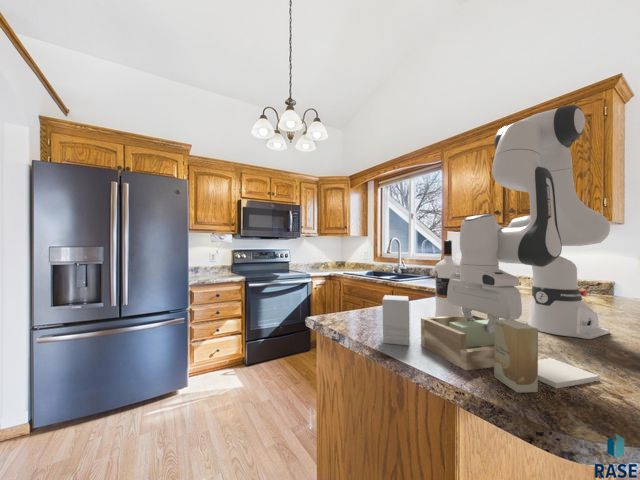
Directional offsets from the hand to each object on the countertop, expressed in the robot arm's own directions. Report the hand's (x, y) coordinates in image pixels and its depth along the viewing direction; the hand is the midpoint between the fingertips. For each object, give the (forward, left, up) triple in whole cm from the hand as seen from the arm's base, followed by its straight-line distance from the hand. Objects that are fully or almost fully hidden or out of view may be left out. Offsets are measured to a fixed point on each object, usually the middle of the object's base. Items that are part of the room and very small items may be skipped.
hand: (479, 328), depth 70 cm
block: (+2, 0, -4) cm, 4 cm away
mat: (-5, +14, -6) cm, 16 cm away
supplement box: (+17, -13, -6) cm, 22 cm away
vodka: (-8, -21, -6) cm, 23 cm away
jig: (+3, 0, -6) cm, 7 cm away
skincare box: (+7, +16, -6) cm, 18 cm away
